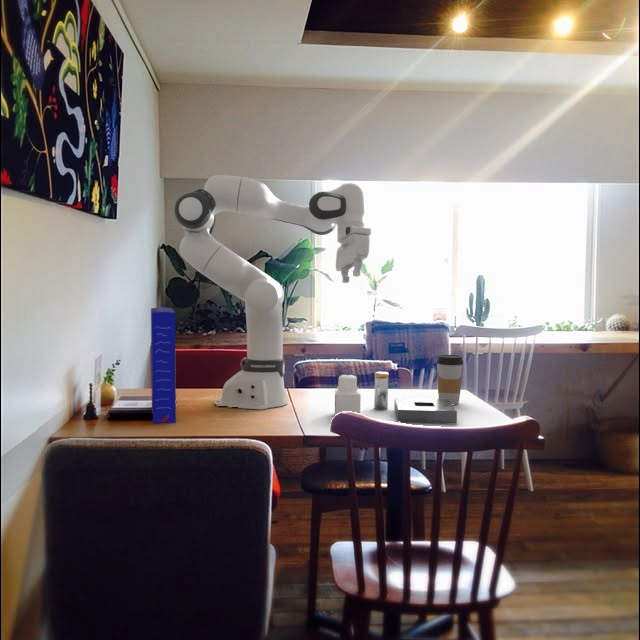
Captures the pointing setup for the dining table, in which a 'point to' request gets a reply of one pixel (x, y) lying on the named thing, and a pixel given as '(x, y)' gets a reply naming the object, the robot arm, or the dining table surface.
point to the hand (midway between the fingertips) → (351, 279)
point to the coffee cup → (449, 377)
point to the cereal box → (163, 365)
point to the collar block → (425, 410)
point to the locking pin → (381, 391)
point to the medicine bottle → (347, 394)
